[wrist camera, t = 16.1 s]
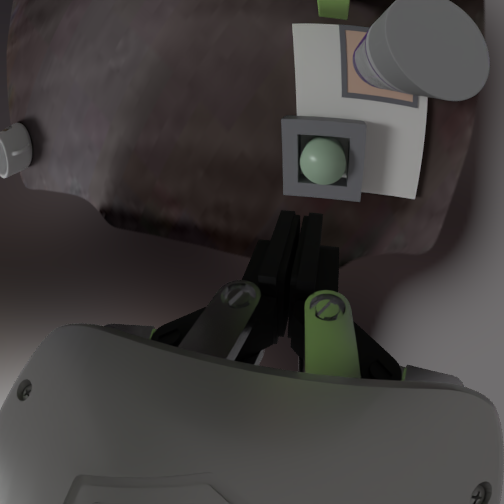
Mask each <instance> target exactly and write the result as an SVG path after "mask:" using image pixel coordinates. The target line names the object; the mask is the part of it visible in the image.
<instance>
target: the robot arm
mask: <svg viewBox="0 0 504 504" xmlns="http://www.w3.org/2000/svg"><path fill="white" fill-rule="evenodd" d="M322 218H323V214H319V213H309V216H304V218H303V223H302V228H301V232H300V215H295V211H283V210H282V211H281V213H280V216H279V219H278V221H277V224H276V227H275V230H274V232H273V235H272V238H271V241H269V240H259V241H258V243H257V245H256V248H255V250H254V252H253V255H252V257H251V260H250V262H249V264H248V267H247V269H246V271H245V274H244V276H243V278H242V280H235V281H232V282H229V283H227V284H225V285H223V286H222V287H221V288H220V289H219V290H218V291H217V293H216V294H215V296H214V297H213V299H212V300H211V301H210V303H209V304H208V305H207V307H204V308H202V309H200V310H197V311H195V312H193V313H191V314H188V315H186V316H183V317H181V318H179V319H176V320H174V321H172V322H169V323H167V324H164V325H163V326H161V327H159V328H158V329H155V328H154V326H140V325H124V324H123V325H122V324H108V325H105V326H100V325H95V324H84V323H79V324H68V325H64V326H61V327H58V328H56V329H55V330H53V331H52V332H51V333H50V334H49V335H48V336H47V337H46V338H45V339H44V340H43V342H42V343H41V344H40V345H39V347H38V348H37V349H36V351H35V352H34V353H33V355H32V356H31V358H30V359H29V361H28V362H27V364H26V365H25V367H24V368H23V370H22V371H21V373H20V375H19V376H18V378H17V380H16V382H15V383H14V385H13V387H12V389H11V390H10V392H9V394H8V396H7V398H6V400H5V402H4V404H3V406H2V408H1V410H0V504H500V500H501V493H502V484H503V472H504V471H503V470H504V452H503V451H504V449H503V436H502V429H501V423H500V419H499V415H498V412H497V410H496V408H495V406H494V404H493V403H492V402H491V401H490V400H489V399H488V398H487V397H486V396H484V395H482V394H481V393H479V392H477V391H474V390H472V389H469V388H467V387H464V385H463V383H462V382H461V380H459V378H457V377H455V376H453V375H448V374H443V373H439V372H435V371H431V370H427V369H422V368H418V367H414V366H411V365H407V366H406V367H402V366H399V364H398V363H397V361H396V360H395V359H394V358H393V357H392V356H391V355H390V354H389V353H388V352H386V351H385V350H384V349H383V348H382V347H381V346H380V345H379V344H378V343H377V342H376V341H375V340H373V339H372V338H371V337H370V336H369V335H368V334H367V333H366V332H365V331H364V330H363V329H361V328H360V327H359V326H358V325H357V324H356V323H355V322H354V321H353V319H352V313H351V307H350V304H349V302H348V300H347V299H346V298H345V297H344V296H343V295H341V294H340V293H338V274H339V247H331V246H321V245H320V243H321V231H322ZM288 317H289V324H288V338H291V348H292V349H293V350H294V351H295V352H296V354H297V355H298V356H299V361H298V372H295V371H289V370H282V369H276V368H270V367H264V366H259V363H260V361H261V359H262V357H263V355H264V351H265V348H267V347H269V346H270V345H272V344H277V341H278V337H279V336H282V337H284V334H285V330H286V325H287V321H288Z"/></svg>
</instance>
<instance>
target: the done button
mask: <svg viewBox="0 0 504 504" xmlns="http://www.w3.org/2000/svg"><path fill="white" fill-rule="evenodd" d="M300 166H301V170H302V172H303V174H304V175H305V176H306V177H307V178H308V179H309V180H310V181H312V182H314V183H316V184H320V185H328V184H332V183H334V182H336V181H338V180H339V179H340V178H341V177H342V175H343V174H344V172H345V168H346V160H345V153H344V148H343V146H342V144H341V143H340V142H339V141H338V140H337V139H336V138H334V137H332V136H318V135H316V136H314V137H312V138H311V139H310V140H309V141H308V142H307V143H306V145H305V147H304V150H303V152H302V154H301V158H300Z"/></svg>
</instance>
